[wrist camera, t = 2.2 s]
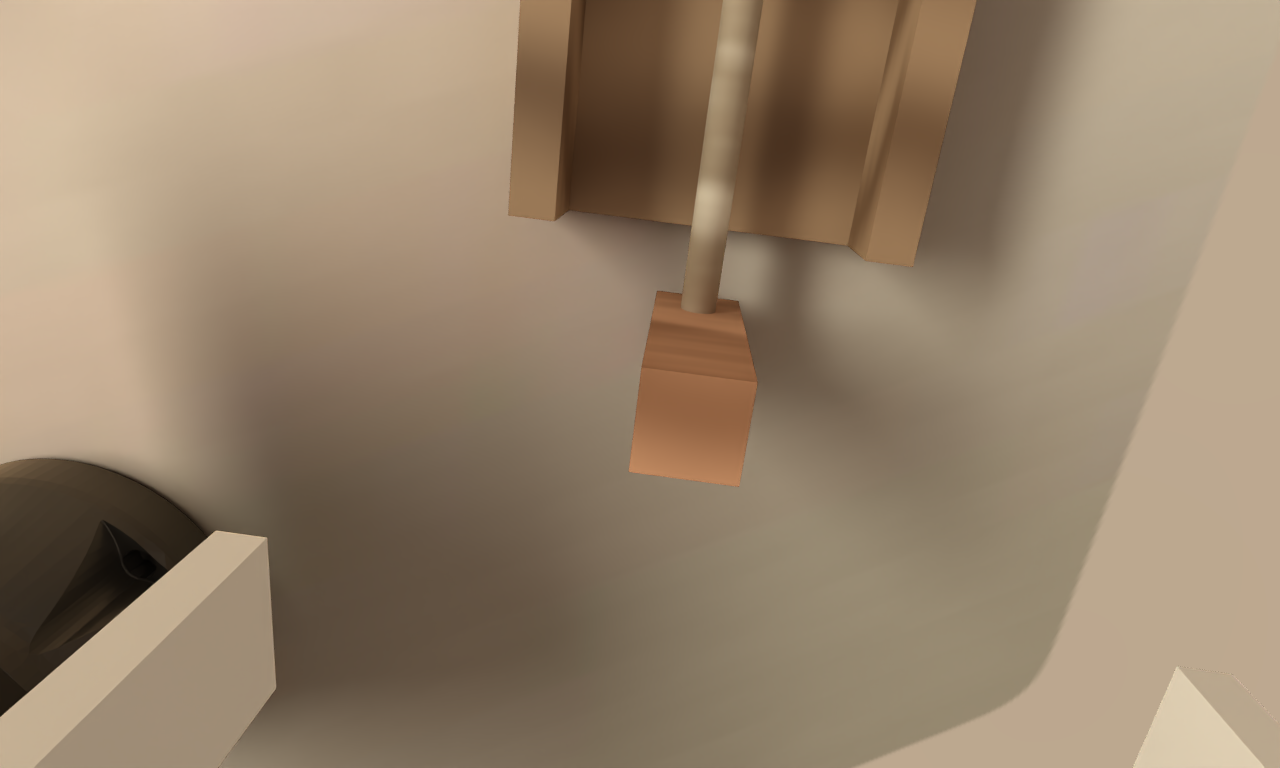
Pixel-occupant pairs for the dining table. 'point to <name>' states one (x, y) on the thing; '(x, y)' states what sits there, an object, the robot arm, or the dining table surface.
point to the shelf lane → (774, 123)
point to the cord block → (704, 302)
